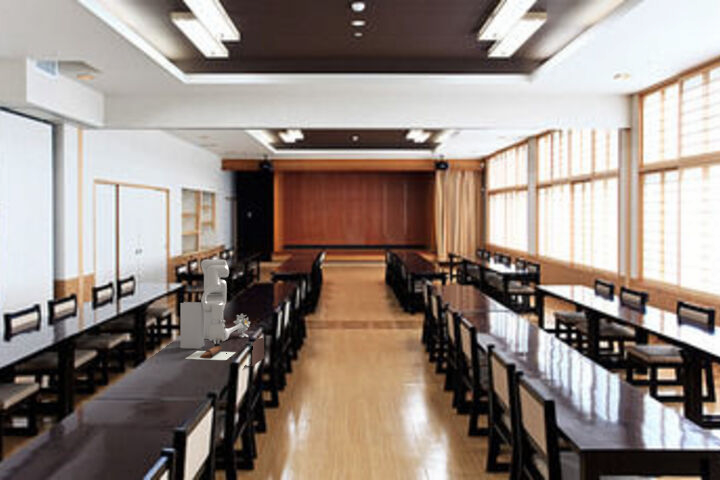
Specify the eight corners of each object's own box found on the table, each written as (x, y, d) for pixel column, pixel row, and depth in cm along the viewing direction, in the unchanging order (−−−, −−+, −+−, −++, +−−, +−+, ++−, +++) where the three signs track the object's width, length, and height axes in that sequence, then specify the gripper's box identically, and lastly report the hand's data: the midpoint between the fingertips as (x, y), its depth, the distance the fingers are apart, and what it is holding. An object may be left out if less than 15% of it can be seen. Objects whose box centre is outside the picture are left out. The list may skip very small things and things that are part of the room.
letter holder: (264, 358, 346) (264, 336, 346) (252, 366, 327) (252, 343, 326) (249, 357, 348) (249, 335, 348) (236, 365, 329) (236, 342, 328)
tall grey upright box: (204, 346, 375) (204, 302, 374) (201, 348, 369) (201, 303, 368) (183, 346, 376) (183, 302, 375) (180, 347, 371) (180, 303, 370)
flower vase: (226, 350, 393) (254, 336, 410) (223, 327, 386) (252, 314, 404) (215, 344, 401) (243, 331, 418) (212, 321, 394) (240, 309, 412)
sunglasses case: (209, 350, 362) (214, 341, 362) (218, 356, 362) (223, 347, 361) (199, 357, 344) (204, 348, 344) (208, 363, 344) (214, 354, 344)
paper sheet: (197, 351, 363) (197, 350, 363) (236, 352, 361) (236, 352, 361) (184, 358, 343) (184, 358, 343) (225, 360, 341) (225, 360, 341)
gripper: (230, 321, 365) (230, 348, 366) (208, 320, 367) (208, 347, 367) (226, 323, 358) (226, 351, 359) (204, 322, 359) (204, 350, 360)
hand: (217, 349), depth 363 cm, fingers closed
